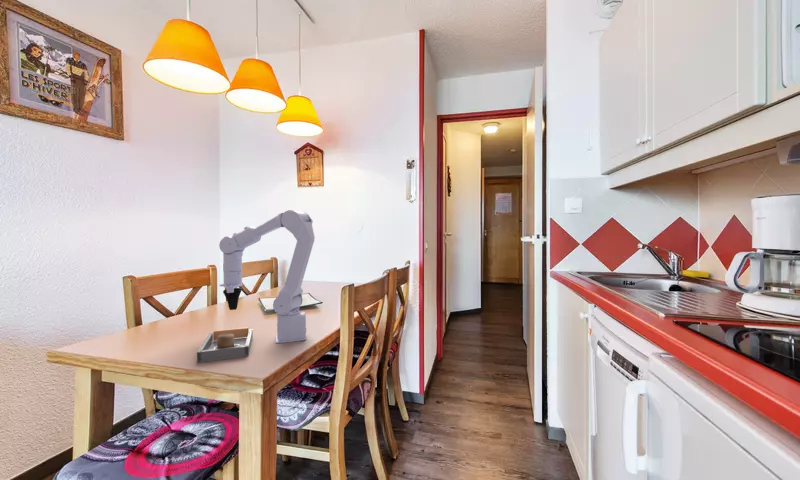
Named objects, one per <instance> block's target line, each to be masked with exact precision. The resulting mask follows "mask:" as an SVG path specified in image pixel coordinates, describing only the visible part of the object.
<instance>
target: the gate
mask: <svg viewBox="0 0 800 480" xmlns="http://www.w3.org/2000/svg"><path fill="white" fill-rule="evenodd" d="M212 333H213V341H214V340H217V336H219V335H222V334H234V338H242V337H248V333H249V327H248V326H246V327H238V328H236V327H235V328H227V329H225V328H224V329H217V330H216V329H215V330H213V331H212Z"/></svg>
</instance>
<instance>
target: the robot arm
mask: <svg viewBox="0 0 800 480" xmlns="http://www.w3.org/2000/svg"><path fill="white" fill-rule="evenodd" d="M280 228H285V230H287V231H288V232H289V233H291V234H292V235H293V237H294V238H295V239H296V244H295V247H294V251H293V254H292V257H291V261H290V265H289V268H288V271H287V275H286V279H285V281H284V285H283V287H282V288H281V289H280V290H279V293H278V294H277V297H276V298H275V299H274V301H273V303H272V308H273V310H274V312H275V313H276V322H277V323H276V327H277V329H276V335H275V343H276V344H283V343H291V342H300V341H306V340H307V338H306V337H307V323H306V322H307V319H306V318H307V317H306V312H305V311H300V307H301V306H302V305H303V292H304V291H303V289H302V284H303V281H304V276H305V273H306V271H307V267H308V263H309V260H310V256H311V252H312V250H313V246H314V242H315V238H316V237H315V232H314V228H313V219H312V218H311V216H310V215H309V214H308V213H307V212H305V211H296V210H292V209H288V210H285V211H284V212H281V213H279V214H277V215H276V216H274V217H272V218H270V219H269V220H267V221H266V222H264V223H262V224H260V225H259V226H256V227H255V226H245V227H243V230H241V231H238V232H234V233H233V234H232V236H224V237H222V239H220V242H219V245H218V246H219V250H220V251H221V252H222V253H223V255H222V256H223V257H222V258H223V261H222V262H223V269H222V270H223V283H220V284H219V287H223V288H224V290H223V291H222V293H223V295H224V296H225V297H226V301H227V305H228V308H229V311H236V310H237V309H238V305H239V298H240V295H241V292H242V291H243V287H242V286H243V255H244V253H243V252H244V251H245V249H246V248H248V247H250V246H253V245H254V244H256V243H259V242H260V241H261V239H262V236H265V235H267V234H269V233H271V232H273V231H276V230H278V229H280Z"/></svg>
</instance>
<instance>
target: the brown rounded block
mask: <svg viewBox="0 0 800 480" xmlns="http://www.w3.org/2000/svg"><path fill="white" fill-rule="evenodd" d="M229 347H234V334H222V335H219V336H217V349H220V348H229Z"/></svg>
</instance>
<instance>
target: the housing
mask: <svg viewBox="0 0 800 480" xmlns="http://www.w3.org/2000/svg"><path fill="white" fill-rule="evenodd" d="M253 332H254V329H253V328H252V329H251V328H250V329H249V333H248V337H242V338H234V347H229V348H220V349H217V340H214V341H213V332H210V333H208V334H207V336H206V338H205V340H204V341H203V343H202V344H201V345H200V347H199V349H198V350H197V352H196V364H197V363H205V362H212V361H221V360H228V359H235V358H236V359H237V358H243V357H249V355H250V352H251V347H252V343H253V337H254V336H253V335H254V334H253Z"/></svg>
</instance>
